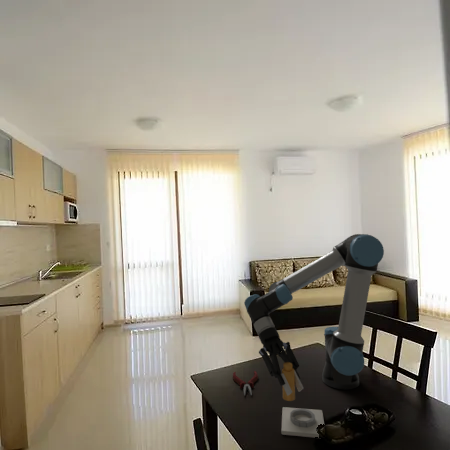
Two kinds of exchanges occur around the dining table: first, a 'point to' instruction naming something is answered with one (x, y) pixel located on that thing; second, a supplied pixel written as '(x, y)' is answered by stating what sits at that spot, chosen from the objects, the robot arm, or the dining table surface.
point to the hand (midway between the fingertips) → (295, 391)
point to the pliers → (243, 384)
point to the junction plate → (301, 421)
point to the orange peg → (289, 381)
